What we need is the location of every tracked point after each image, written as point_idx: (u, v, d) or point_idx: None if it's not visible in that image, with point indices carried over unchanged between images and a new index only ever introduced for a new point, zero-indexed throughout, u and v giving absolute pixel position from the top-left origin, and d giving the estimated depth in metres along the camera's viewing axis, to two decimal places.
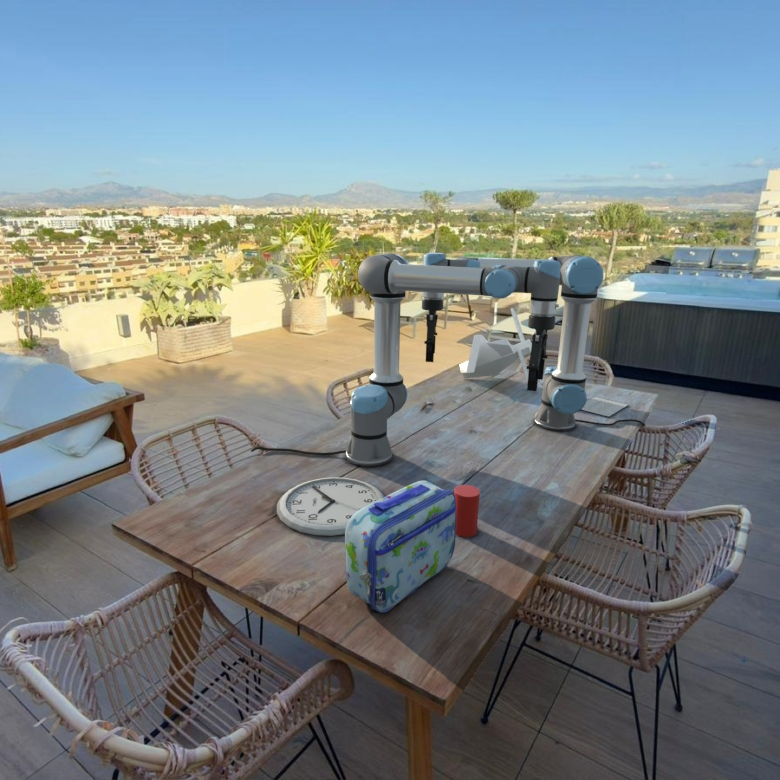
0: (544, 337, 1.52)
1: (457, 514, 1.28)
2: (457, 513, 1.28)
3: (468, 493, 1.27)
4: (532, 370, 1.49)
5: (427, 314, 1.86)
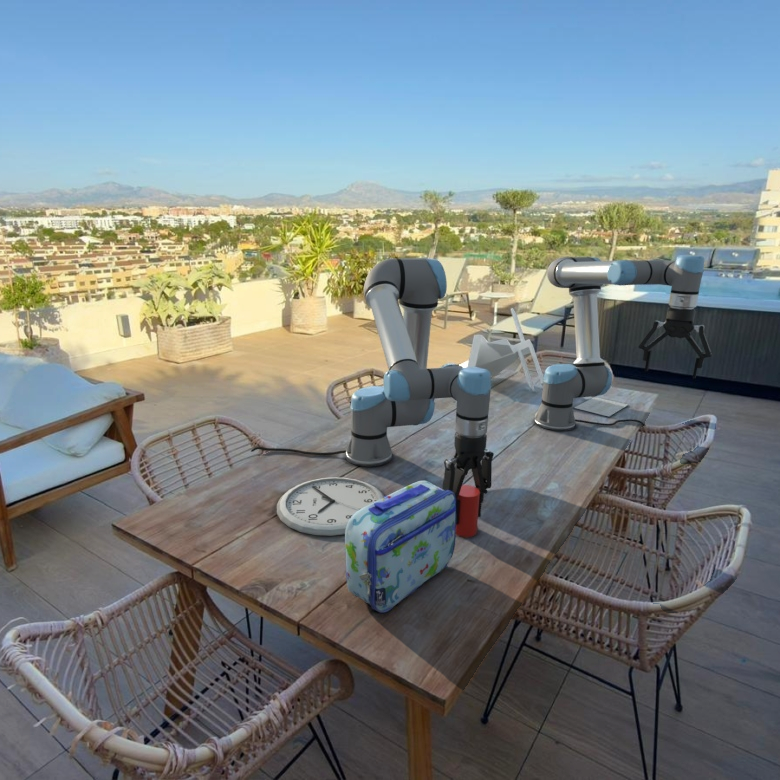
0: (466, 460, 1.24)
1: None
2: None
3: (468, 493, 1.27)
4: None
5: (674, 326, 1.61)
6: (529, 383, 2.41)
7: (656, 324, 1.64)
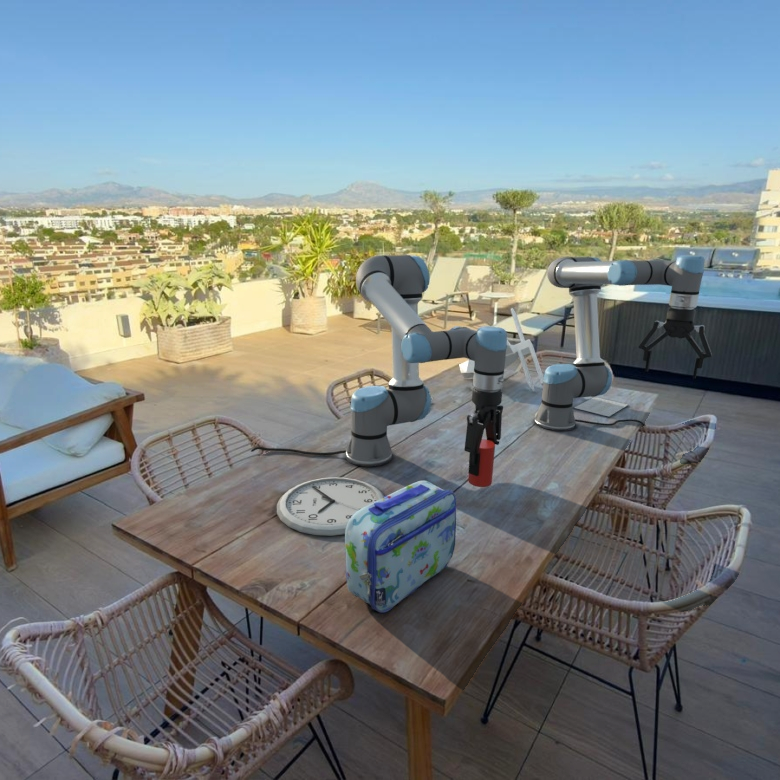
0: (486, 414, 1.33)
1: None
2: None
3: (486, 446, 1.37)
4: (471, 453, 1.35)
5: (674, 327, 1.61)
6: (529, 383, 2.41)
7: (656, 324, 1.64)
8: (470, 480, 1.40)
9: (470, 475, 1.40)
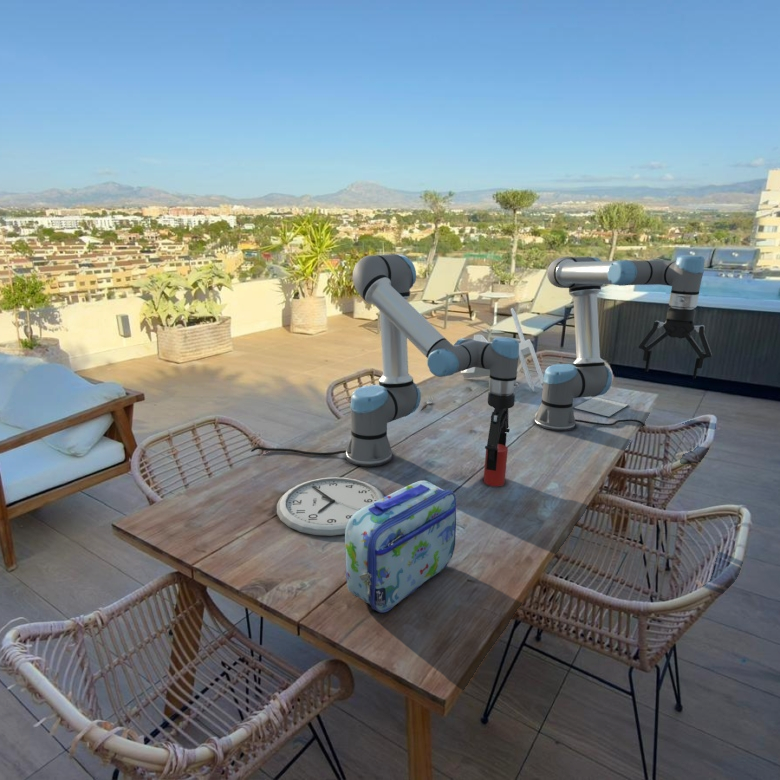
0: (503, 415, 1.49)
1: None
2: None
3: (501, 449, 1.53)
4: (491, 450, 1.47)
5: (674, 327, 1.61)
6: (529, 383, 2.41)
7: (656, 324, 1.64)
8: (488, 481, 1.55)
9: (488, 477, 1.55)
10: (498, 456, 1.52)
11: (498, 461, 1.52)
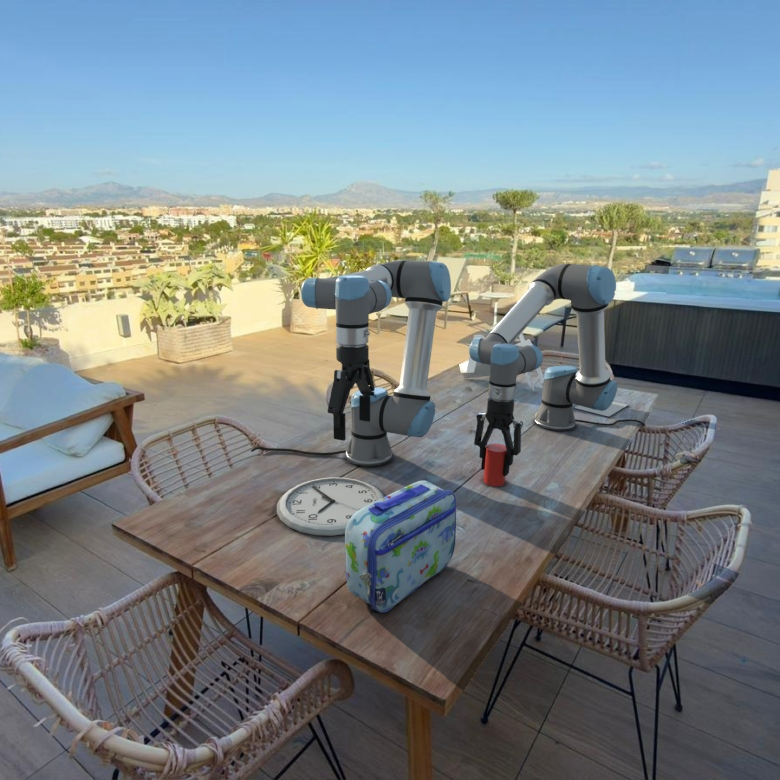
0: (354, 372, 1.21)
1: (495, 468, 1.53)
2: (495, 467, 1.53)
3: (501, 449, 1.53)
4: (335, 415, 1.18)
5: (493, 418, 1.51)
6: (529, 383, 2.41)
7: (479, 417, 1.54)
8: (488, 481, 1.55)
9: (488, 477, 1.55)
10: (498, 456, 1.52)
11: (498, 461, 1.52)
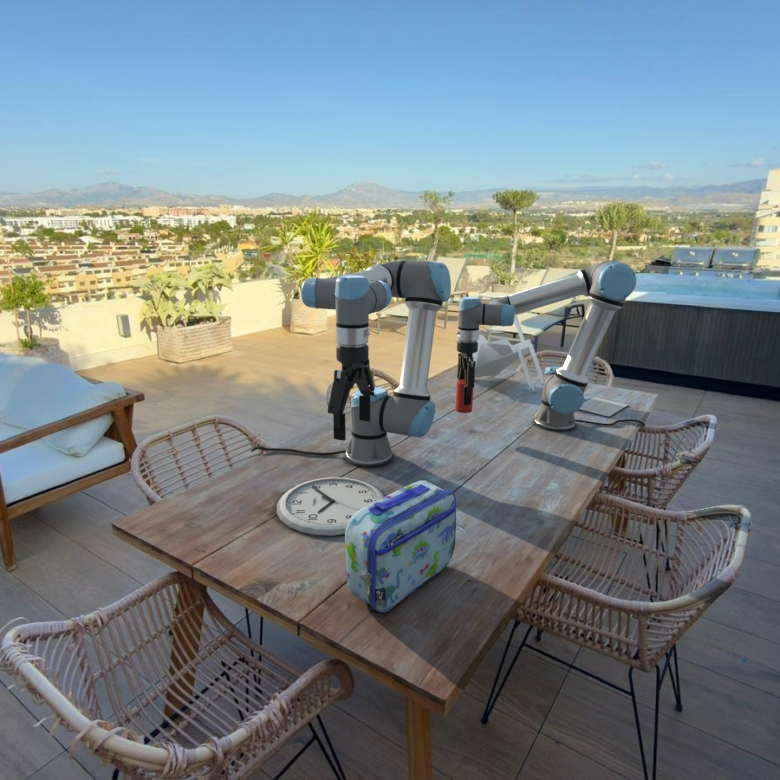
0: (354, 372, 1.21)
1: (457, 397, 1.93)
2: (457, 396, 1.93)
3: None
4: (335, 415, 1.18)
5: (461, 355, 1.91)
6: (529, 383, 2.41)
7: (458, 355, 1.95)
8: (455, 407, 1.96)
9: None
10: (459, 387, 1.91)
11: (459, 391, 1.92)
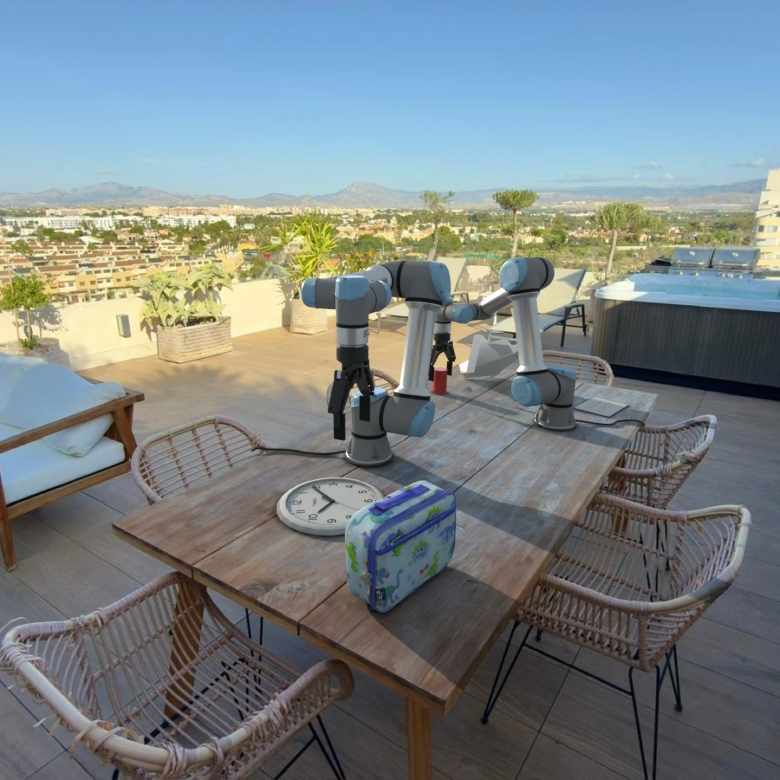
0: (354, 372, 1.21)
1: None
2: None
3: (437, 369, 2.38)
4: (335, 415, 1.18)
5: None
6: None
7: None
8: None
9: None
10: None
11: None
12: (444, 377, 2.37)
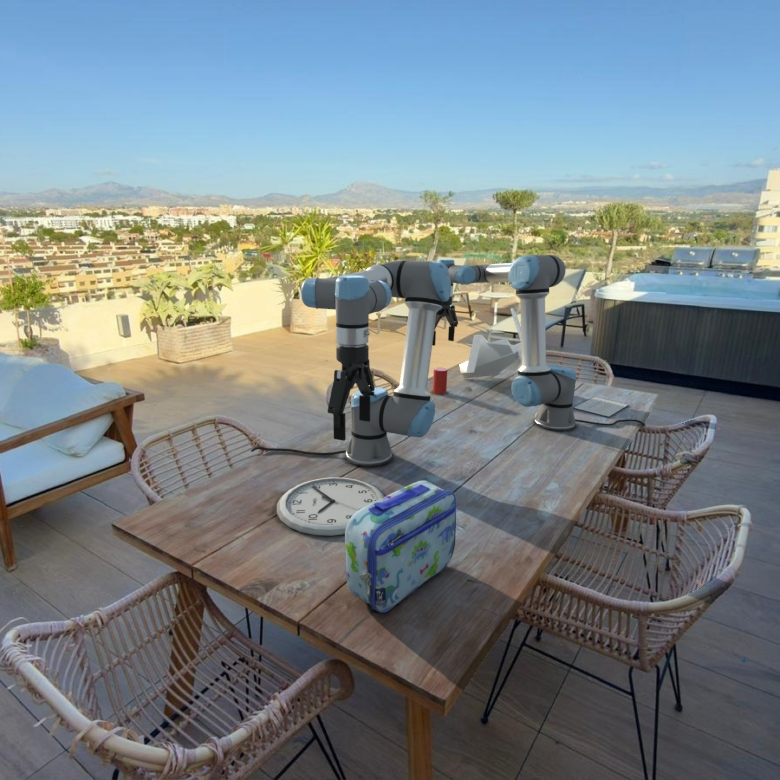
0: (354, 372, 1.21)
1: None
2: None
3: (437, 369, 2.38)
4: (335, 415, 1.18)
5: None
6: None
7: None
8: None
9: None
10: None
11: (433, 375, 2.40)
12: (444, 377, 2.37)
